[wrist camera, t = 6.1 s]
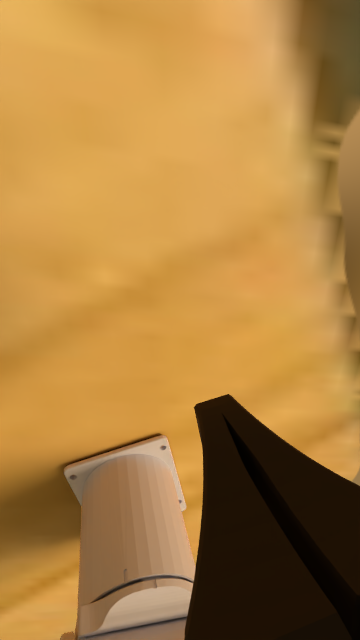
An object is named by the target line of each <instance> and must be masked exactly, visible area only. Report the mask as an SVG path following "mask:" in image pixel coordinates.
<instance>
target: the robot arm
mask: <svg viewBox="0 0 360 640" xmlns="http://www.w3.org/2000/svg"><path fill="white" fill-rule="evenodd" d="M194 409H195V414H196V418H197V423H198V428H199V433H200V437H201V442H202V448H203V506H202V519H201V530H200V540H199V548H198V555H197V562H196V568H195V564H194V560H193V556H192V552H191V548H190V544H189V540H188V536H187V532H186V528H185V524H184V520H183V516H182V511H184V510H185V509H186V503H185V500H184V496H183V493H182V489H181V486H180V482H179V478H178V475H177V471H176V468H175V464H174V461H173V457H172V454H171V450H170V446H169V443H168V439H167V437H166V436H164V435H160V436H157V437H154V438H151V439H147V440H144V441H141V442H138V443H135V444H132V445H129V446H126V447H123V448H120V449H116V450H113V451H110V452H107V453H104V454H101V455H98V456H95V457H92V458H89V459H85V460H82V461H79V462H76V463H73V464H70V465H68V466H66V467H65V469H64V475H65V477H66V479H67V481H68V483H69V485H70V487H71V488H72V490H73V492H74V494H75V496H76V498H77V499H78V501H79V503H80V505H81V507H82V513H81V538H80V563H79V588H78V613H77V622H76V628H75V634H74V633H73V632H67V633H64V634H62V636H61V638H60V640H360V486H359V485H357V484H355V483H353V482H351V481H349V480H347V479H345V478H343V477H341V476H339V475H338V474H336V473H334V472H333V471H331V470H329V469H327V468H326V467H324V466H322V465H321V464H319V463H317V462H316V461H314V460H312V459H311V458H309V457H308V456H306V455H305V454H303V453H302V452H300V451H299V450H297V449H296V448H294V447H293V446H291V445H290V444H289V443H287V442H286V441H284V440H283V439H282V438H280V437H279V436H278V435H276V434H275V433H274V432H272V431H271V430H270V429H269V428H267V427H266V426H265V425H264V424H262V423H261V422H260V421H259V420H257V419H256V418H255V417H254V416H253V415H252V414H250V413H249V412H248V411H247V410H246V409H245V408H244V407H243V406H241V405H240V404H239V403H238V402H237V401H236V400H235V399H234V398H233V397H232V396H231V395H229V394H227V395H224V396H221V397H217V398H214V399H211V400H208V401H205V402H202V403H198V404H196V406H195V407H194ZM163 445H164V446H163Z"/></svg>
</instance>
